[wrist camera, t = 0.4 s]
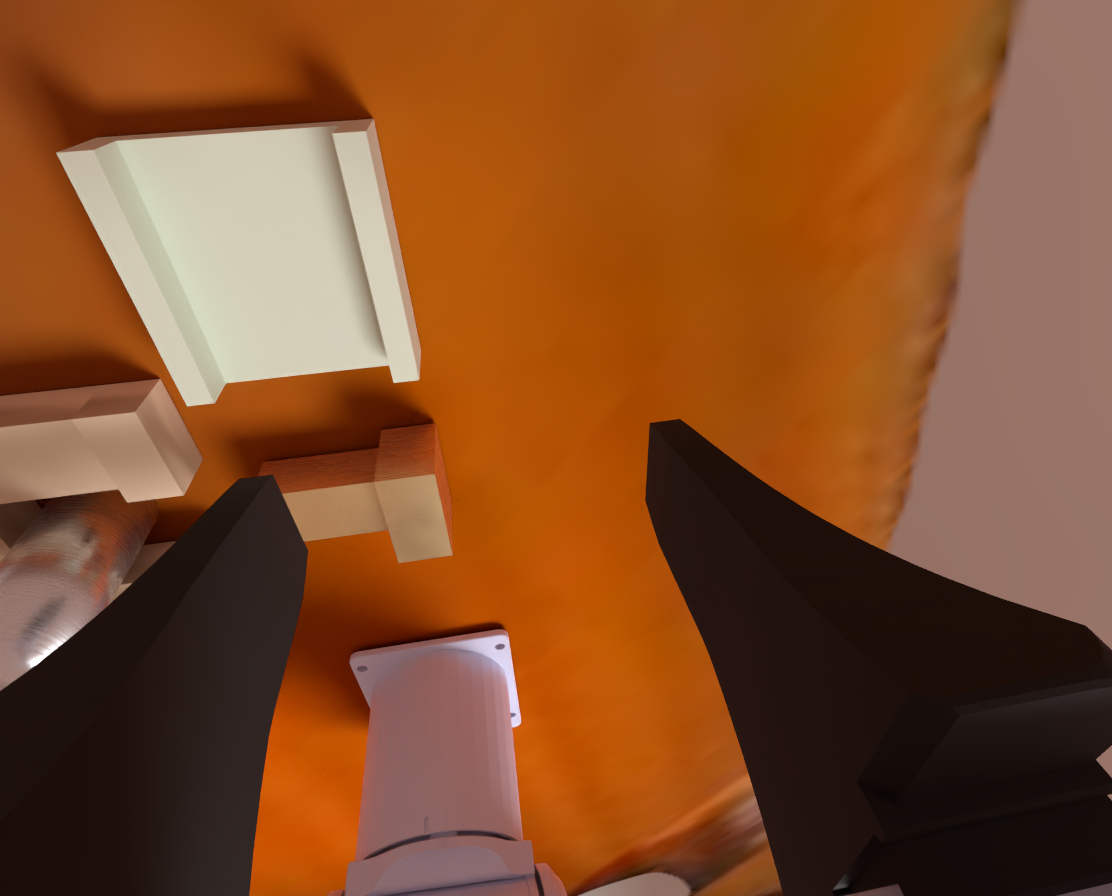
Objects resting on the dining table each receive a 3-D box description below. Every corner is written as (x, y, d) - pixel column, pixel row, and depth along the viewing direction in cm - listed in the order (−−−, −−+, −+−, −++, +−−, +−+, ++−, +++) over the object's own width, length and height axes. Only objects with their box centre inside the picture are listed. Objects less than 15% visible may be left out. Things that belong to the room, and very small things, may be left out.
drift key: (451, 501, 24) (452, 555, 22) (290, 523, 23) (273, 580, 21) (435, 423, 22) (434, 474, 19) (255, 444, 21) (231, 500, 19)
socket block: (266, 576, 25) (254, 614, 23) (69, 605, 24) (43, 646, 23) (160, 378, 19) (134, 412, 17) (-108, 407, 18) (-160, 445, 17)
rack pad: (420, 350, 20) (419, 380, 18) (207, 373, 19) (187, 406, 18) (373, 118, 16) (365, 130, 14) (96, 137, 15) (56, 152, 13)
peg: (173, 529, 23) (87, 694, 17) (86, 541, 22) (-29, 713, 17) (133, 467, 21) (23, 631, 15) (38, 478, 20) (-109, 651, 15)
